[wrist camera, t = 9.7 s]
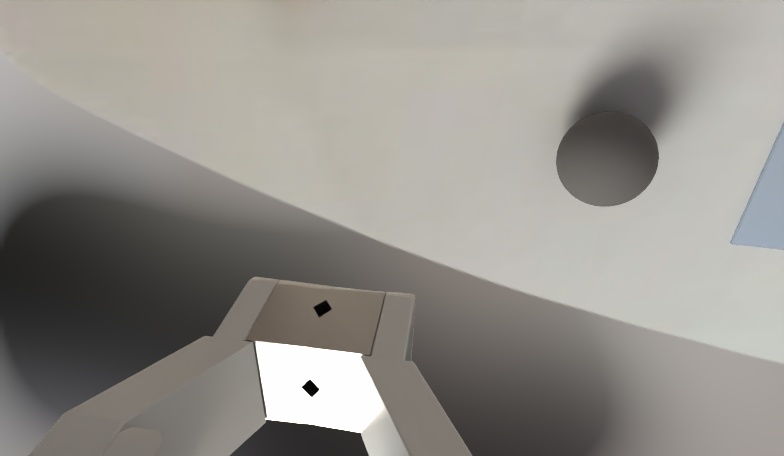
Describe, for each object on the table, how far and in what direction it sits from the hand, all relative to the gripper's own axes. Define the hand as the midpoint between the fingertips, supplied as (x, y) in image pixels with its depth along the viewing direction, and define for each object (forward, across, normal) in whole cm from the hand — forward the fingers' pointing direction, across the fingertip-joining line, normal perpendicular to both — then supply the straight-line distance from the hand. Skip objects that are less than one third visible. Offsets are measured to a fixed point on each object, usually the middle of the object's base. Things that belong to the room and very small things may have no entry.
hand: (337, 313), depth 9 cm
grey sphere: (+22, -11, +5) cm, 25 cm away
